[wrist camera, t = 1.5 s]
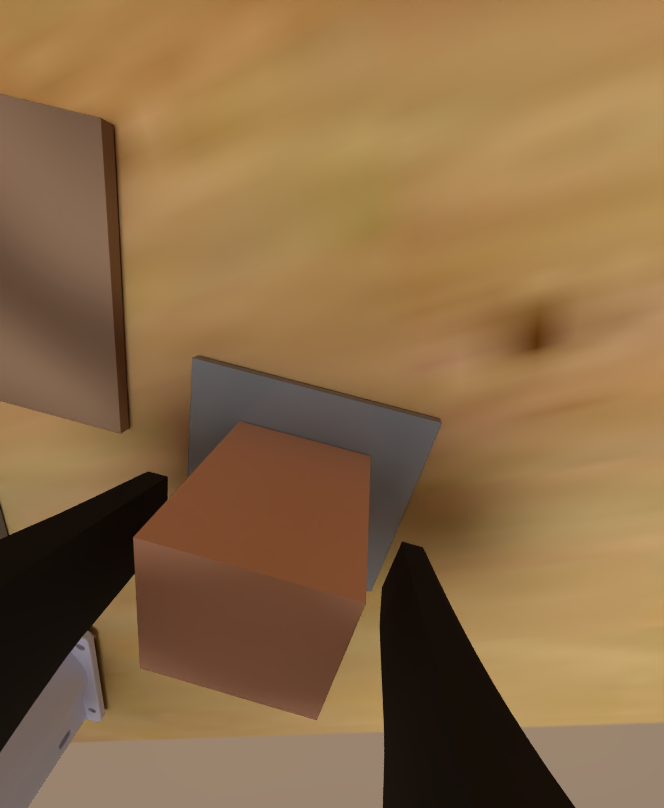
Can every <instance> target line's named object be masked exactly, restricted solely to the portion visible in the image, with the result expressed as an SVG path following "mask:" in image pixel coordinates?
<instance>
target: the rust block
mask: <svg viewBox="0 0 664 808" xmlns="http://www.w3.org/2000/svg"><path fill="white" fill-rule="evenodd" d="M370 463H371V456H368V455H365V454H361V453H357V452H353V451H350V450H346V449H342V448H338V447H335V446H331V445H327V444H323V443H320V442H316V441H312V440H308V439H305V438H301V437H297V436H293V435H290V434H286V433H282V432H278V431H275V430H271V429H267V428H263V427H260V426H256V425H252V424H248V423H245V422H241V421H239V422H238V424H237V425H236V426H235V427H234V428H233V429H232V430H231V431H230V432H229V433H228V434H227V436H226V437H225V438H224V439H223V440H222V441H221V442H220V443H219V444H218V445H217V446H216V448H215V449H214V450H213V451H212V452H211V453H210V454H209V455H208V456H207V457H206V458H205V460H204V461H203V462H202V463H201V464H200V465H199V466H198V467H197V468H196V469H195V470H194V472H193V473H192V474H191V475H190V476H189V477H188V478H187V479H186V480H185V481H184V482H183V484H182V485H181V486H180V487H179V488H178V489H177V490H176V491H175V492H174V493H173V494H172V496H171V497H170V498H169V499H168V500H167V501H166V502H165V503H164V504H163V505H162V506H161V508H160V509H159V510H158V511H157V512H156V513H155V514H154V515H153V516H152V517H151V518H150V520H149V521H148V522H147V523H146V524H145V525H144V526H143V527H142V528H141V529H140V530H139V532H138V533H137V534H136V535H135V536H134V537H133V544H134V563H135V582H136V601H137V619H138V638H139V657H140V668H142V669H145V670H148V671H152V672H155V673H159V674H162V675H165V676H169V677H172V678H176V679H179V680H182V681H186V682H189V683H192V684H196V685H199V686H203V687H206V688H209V689H213V690H216V691H220V692H223V693H226V694H230V695H233V696H237V697H240V698H243V699H247V700H250V701H253V702H257V703H260V704H264V705H267V706H270V707H274V708H277V709H281V710H284V711H287V712H291V713H294V714H297V715H301V716H304V717H308V718H311V719H314V720H317V718H318V716H319V714H320V711H321V709H322V706H323V704H324V702H325V699H326V697H327V695H328V692H329V690H330V687H331V685H332V683H333V680H334V678H335V675H336V673H337V671H338V668H339V666H340V664H341V661H342V659H343V656H344V654H345V652H346V649H347V647H348V644H349V642H350V640H351V637H352V635H353V633H354V630H355V628H356V625H357V623H358V621H359V618H360V616H361V614H362V611H363V609H364V606H365V604H366V585H367V554H368V524H369V493H370Z"/></svg>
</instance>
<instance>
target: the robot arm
mask: <svg viewBox="0 0 664 808" xmlns="http://www.w3.org/2000/svg"><path fill="white" fill-rule="evenodd" d="M167 491H168V477H167V476H163V475H159V474H156V473H152V472H146V473H144V474H142V475H139V476H137V477H135V478H133V479H131V480H129V481H127V482H125V483H123V484H121V485H119V486H116V487H114V488H112V489H110V490H108V491H106V492H104V493H102V494H100V495H98V496H96V497H94V498H91V499H89V500H87V501H85V502H83V503H81V504H79V505H77V506H75V507H72V508H70V509H68V510H66V511H64V512H62V513H60V514H57V515H55V516H53V517H50V518H48V519H46V520H43V521H41V522H39V523H36V524H34V525H32V526H30V527H27V528H25V529H23V530H20V531H18V532H16V533H13V534H11V535H9V536H7V537H4V538H2V539H0V808H28V806H29V805H30V803H31V802H32V800H33V799H34V797H35V796H36V794H37V793H38V791H39V789H40V788H41V787H42V785H43V783H44V782H45V780H46V779H47V777H48V776H49V774H50V773H51V771H52V770H53V768H54V767H55V765H56V763H57V762H58V760H59V759H60V757H61V756H62V754H63V753H64V751H65V750H66V748H67V747H68V745H69V743H70V742H71V740H72V739H73V737H74V736H75V734H76V733H77V731H78V730H79V728H80V727H81V725H82V724H83V722H84V720H85V719H88V720H92V721H95V722H99V721H101V720H102V718H103V716H104V715H105V709H104V703H103V696H102V690H101V683H100V677H99V670H98V664H97V657H96V651H95V644H94V638H93V635H92V633H91V632H89V631H88V629H89V628H90V627H91V626H92V625H93V623H94V622H95V621H96V620H97V619H98V617H99V616H100V615H101V614H102V613H103V611H104V610H105V609H106V608H107V606H108V605H109V604H110V603H111V602H112V600H113V599H114V598H115V597H116V596H117V594H118V593H119V592H120V591H121V590H122V588H123V587H124V586H125V585H126V583H127V582H128V581H129V580H130V579H131V577H132V576H133V575H134V574H135V563H134V544H133V537H134V536H135V535H136V534H137V533H138V532H139V530H140V529H141V528H142V527H143V526H144V525H145V524H146V523H147V522H148V521H149V520H150V518H151V517H152V516H153V515H154V514H155V513H156V512H157V511H158V510H159V509H160V508H161V506H162V505H163V504H164V503H165V502H166V501H167ZM380 647H381V671H382V693H383V716H384V787H383V808H575V806H574V805H573V804H572V802H571V801H570V799H569V798H568V797H567V795H566V794H565V793H564V791H563V790H562V788H561V787H560V785H559V784H558V783H557V781H556V780H555V778H554V777H553V776H552V774H551V773H550V771H549V770H548V768H547V767H546V765H545V764H544V762H543V761H542V759H541V758H540V757H539V755H538V753H537V752H536V750H535V749H534V747H533V746H532V744H531V743H530V741H529V740H528V738H527V737H526V735H525V734H524V732H523V731H522V729H521V727H520V726H519V724H518V723H517V721H516V719H515V718H514V716H513V715H512V713H511V712H510V710H509V708H508V707H507V705H506V703H505V702H504V700H503V699H502V697H501V695H500V694H499V692H498V690H497V689H496V687H495V685H494V684H493V682H492V680H491V678H490V677H489V675H488V673H487V671H486V670H485V668H484V666H483V664H482V663H481V661H480V659H479V657H478V656H477V654H476V652H475V650H474V648H473V647H472V645H471V643H470V641H469V639H468V637H467V635H466V634H465V632H464V630H463V628H462V626H461V624H460V622H459V620H458V618H457V616H456V614H455V613H454V611H453V609H452V607H451V605H450V603H449V601H448V599H447V597H446V595H445V593H444V590H443V588H442V586H441V584H440V582H439V580H438V578H437V576H436V574H435V572H434V570H433V567H432V565H431V563H430V561H429V559H428V557H427V555H426V553H425V551H424V549H423V547H420V546H416V545H412V544H409V543H405V542H402V543H401V546H400V548H399V550H398V552H397V555H396V557H395V559H394V561H393V564H392V566H391V568H390V570H389V573H388V575H387V577H386V580H385V582H384V584H383V586H382V596H381V611H380Z"/></svg>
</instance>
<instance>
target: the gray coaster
mask: <svg viewBox="0 0 664 808" xmlns="http://www.w3.org/2000/svg"><path fill="white" fill-rule="evenodd" d="M7 536H8V534H7V531H6V527H5V524H4V520H3V517H2V513H1V509H0V539H2V538H4V537H7Z"/></svg>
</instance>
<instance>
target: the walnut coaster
mask: <svg viewBox="0 0 664 808" xmlns="http://www.w3.org/2000/svg"><path fill="white" fill-rule="evenodd" d="M0 401H2V402H6V403H10V404H13V405H17V406H21V407H24V408H28V409H32V410H35V411H39V412H43V413H46V414H50V415H54V416H58V417H61V418H65V419H69V420H72V421H76V422H80V423H83V424H87V425H91V426H94V427H98V428H102V429H105V430H109V431H113V432H116V433H120V434H121V433H123V432H124V431H126V430H127V429H129V422H128V403H127V383H126V364H125V344H124V325H123V305H122V285H121V266H120V246H119V227H118V207H117V187H116V168H115V148H114V129H113V125H112V124H110V123H109V122H107V121H105V120H103V119H101V118H98V117H94V116H90V115H86V114H81V113H77V112H73V111H69V110H65V109H61V108H56V107H52V106H48V105H44V104H40V103H35V102H31V101H27V100H23V99H19V98H15V97H10V96H6V95H2V94H0Z"/></svg>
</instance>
